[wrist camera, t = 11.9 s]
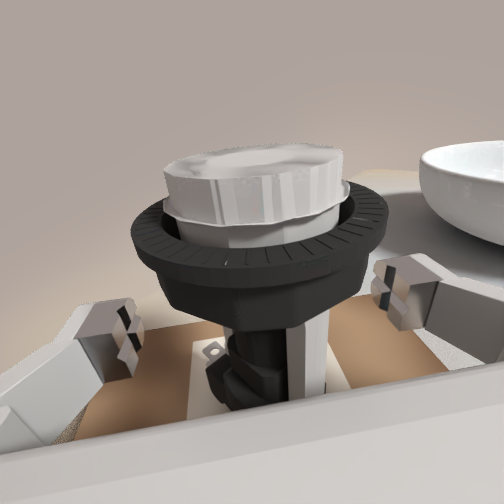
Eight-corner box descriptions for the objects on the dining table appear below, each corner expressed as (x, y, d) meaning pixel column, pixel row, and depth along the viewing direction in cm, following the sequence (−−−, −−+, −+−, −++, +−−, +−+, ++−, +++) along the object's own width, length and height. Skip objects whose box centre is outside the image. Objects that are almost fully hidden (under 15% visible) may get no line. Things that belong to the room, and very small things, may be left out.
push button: (165, 405, 11) (65, 167, 7) (254, 335, 14) (230, 137, 10) (281, 577, 7) (237, 235, 2) (375, 424, 10) (443, 139, 5)
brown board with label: (-110, 1012, 4) (-268, 1119, 3) (125, 352, 16) (111, 322, 15) (726, 742, 5) (845, 745, 4) (375, 311, 17) (380, 279, 16)
